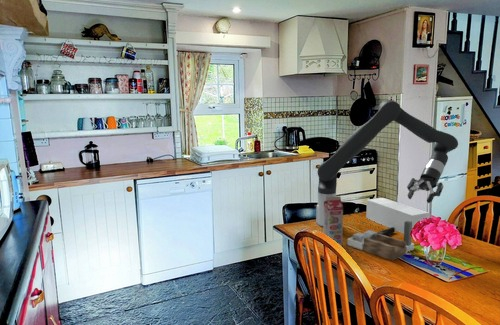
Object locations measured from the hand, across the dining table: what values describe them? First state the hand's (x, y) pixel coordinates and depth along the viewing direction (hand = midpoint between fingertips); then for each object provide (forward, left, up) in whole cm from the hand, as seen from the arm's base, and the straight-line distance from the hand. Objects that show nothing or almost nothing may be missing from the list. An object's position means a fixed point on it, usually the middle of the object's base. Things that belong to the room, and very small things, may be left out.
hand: (418, 200), depth 161 cm
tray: (-14, -22, -20) cm, 32 cm away
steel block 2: (-10, -21, -17) cm, 29 cm away
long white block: (-18, +14, -20) cm, 31 cm away
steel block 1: (-13, -21, -17) cm, 30 cm away
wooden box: (-3, -21, -20) cm, 29 cm away
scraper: (+2, -12, -20) cm, 23 cm away
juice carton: (-23, -30, -20) cm, 43 cm away
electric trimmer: (-14, -4, -20) cm, 25 cm away
